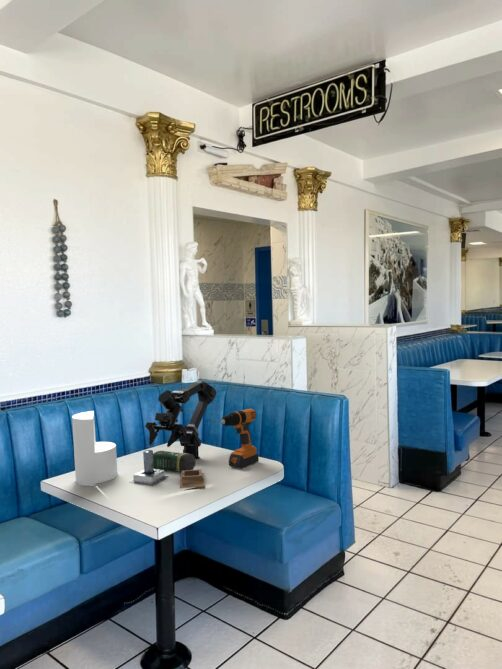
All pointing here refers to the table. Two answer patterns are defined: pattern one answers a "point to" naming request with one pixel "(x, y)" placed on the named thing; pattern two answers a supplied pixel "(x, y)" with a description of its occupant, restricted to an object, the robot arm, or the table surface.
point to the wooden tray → (192, 479)
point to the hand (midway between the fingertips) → (158, 445)
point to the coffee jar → (173, 461)
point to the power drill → (242, 438)
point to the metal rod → (148, 462)
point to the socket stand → (149, 477)
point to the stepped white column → (91, 452)
